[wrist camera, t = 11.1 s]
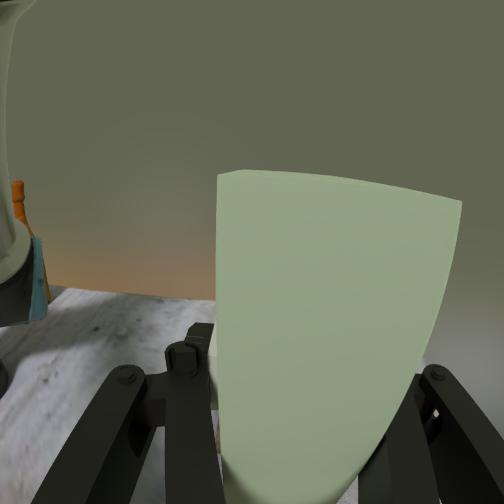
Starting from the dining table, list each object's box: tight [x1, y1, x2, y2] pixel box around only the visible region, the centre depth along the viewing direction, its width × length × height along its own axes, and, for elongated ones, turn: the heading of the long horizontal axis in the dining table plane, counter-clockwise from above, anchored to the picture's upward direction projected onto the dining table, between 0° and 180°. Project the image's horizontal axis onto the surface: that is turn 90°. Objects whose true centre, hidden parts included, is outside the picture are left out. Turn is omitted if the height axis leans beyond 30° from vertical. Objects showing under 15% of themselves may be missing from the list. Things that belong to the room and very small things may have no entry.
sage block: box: [216, 170, 462, 504], centre depth 10 cm, size 4×9×16 cm, turn 0°
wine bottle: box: [12, 181, 50, 303], centre depth 50 cm, size 10×10×30 cm
